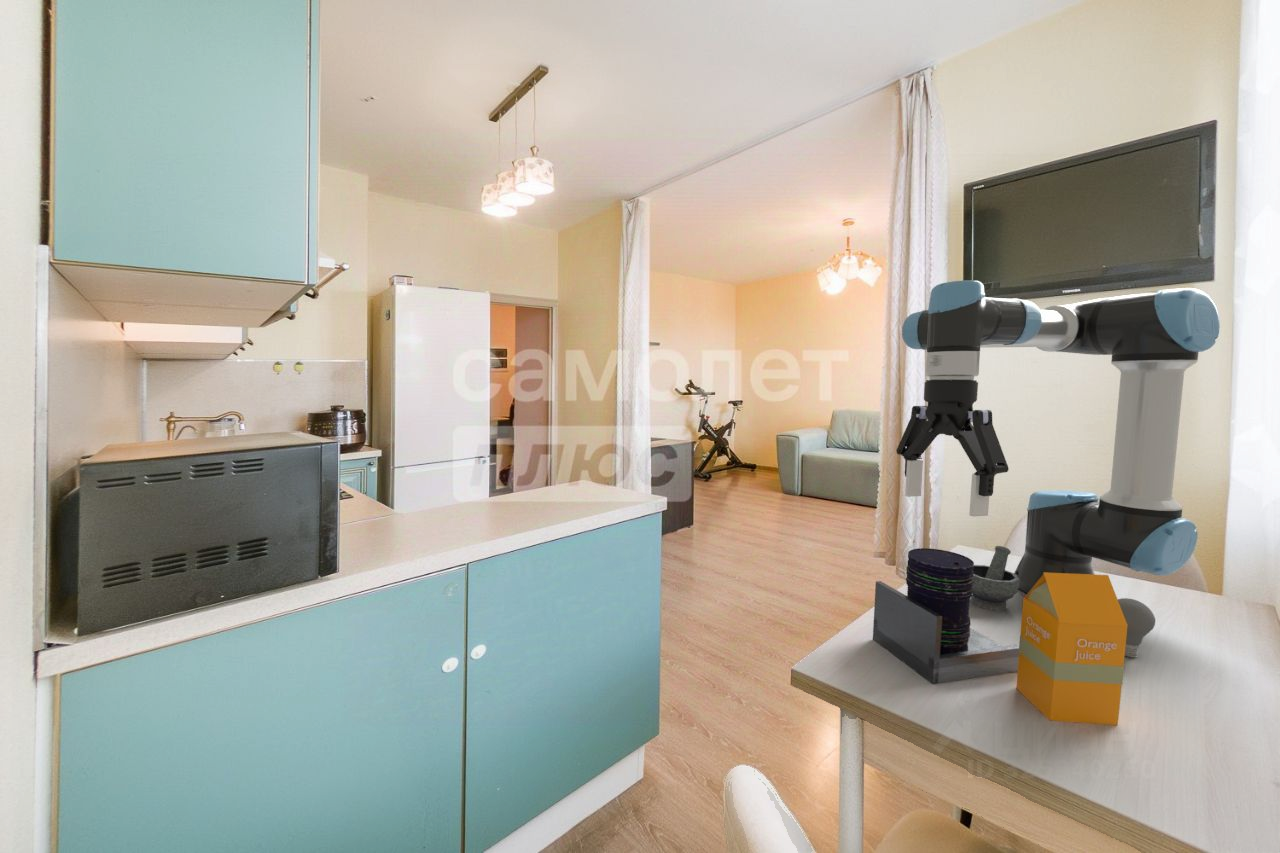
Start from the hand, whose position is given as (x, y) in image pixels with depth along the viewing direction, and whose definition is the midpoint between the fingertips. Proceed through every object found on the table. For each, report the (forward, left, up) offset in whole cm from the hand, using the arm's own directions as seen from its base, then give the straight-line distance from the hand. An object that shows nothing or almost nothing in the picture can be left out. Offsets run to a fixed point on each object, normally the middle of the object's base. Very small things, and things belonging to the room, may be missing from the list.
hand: (943, 505), depth 85 cm
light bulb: (-33, +7, -27) cm, 43 cm away
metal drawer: (-2, 0, -26) cm, 27 cm away
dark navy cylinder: (0, 0, -24) cm, 24 cm away
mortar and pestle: (-28, -15, -27) cm, 42 cm away
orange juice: (-8, +16, -27) cm, 32 cm away
